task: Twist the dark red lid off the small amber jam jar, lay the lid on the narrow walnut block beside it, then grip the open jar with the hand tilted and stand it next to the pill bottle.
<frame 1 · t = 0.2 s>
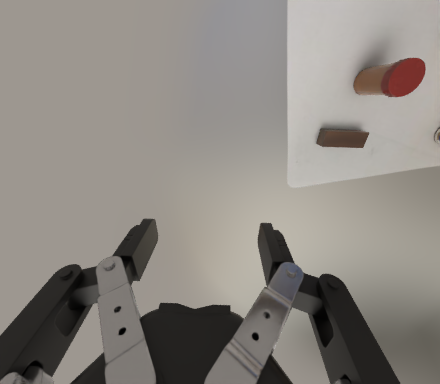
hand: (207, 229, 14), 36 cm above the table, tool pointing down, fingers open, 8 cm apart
lid rest: (338, 137, 45), on the table
jar: (366, 81, 40), on the table
jar lid: (404, 78, 31), point 10 cm above the table, screwed on, not yet turned
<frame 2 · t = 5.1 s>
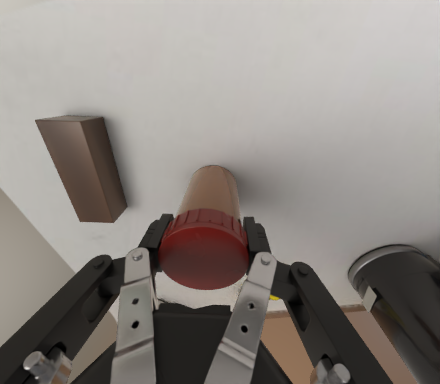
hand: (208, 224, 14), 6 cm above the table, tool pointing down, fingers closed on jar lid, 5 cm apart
lid rest: (99, 167, 19), on the table
jar: (213, 187, 20), on the table
jar lid: (204, 257, 11), point 10 cm above the table, screwed on, not yet turned, touching gripper
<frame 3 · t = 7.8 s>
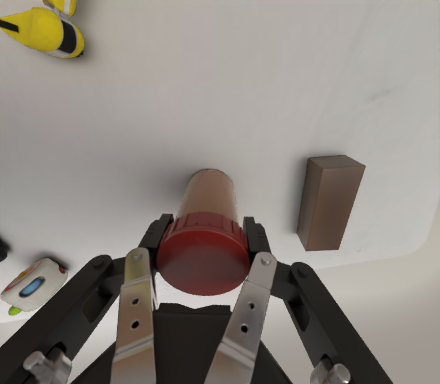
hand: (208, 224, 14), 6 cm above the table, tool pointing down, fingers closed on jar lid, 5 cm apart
roller toy: (20, 293, 25), point 3 cm above the table
lid rest: (317, 198, 20), on the table
jar: (210, 190, 20), on the table
jar lid: (203, 261, 11), point 10 cm above the table, off its thread, touching gripper
when the fingers open (4 cm above the table, at t = 32.0 s): jar lid stays where it is, resting on lid rest.
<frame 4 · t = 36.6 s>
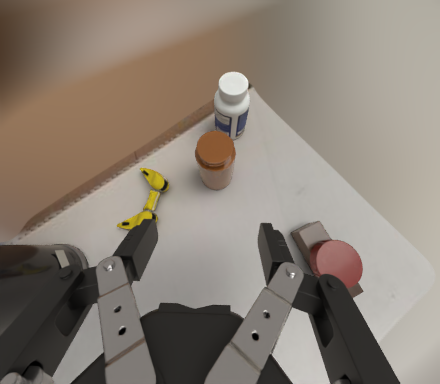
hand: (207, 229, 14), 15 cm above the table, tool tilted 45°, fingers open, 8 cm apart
yellow curved piece: (150, 202, 30), on the table
lid rest: (317, 258, 27), on the table
pill bottle: (229, 128, 33), on the table
jar: (216, 175, 31), on the table
jar lid: (337, 263, 23), point 4 cm above the table, off its thread, touching lid rest
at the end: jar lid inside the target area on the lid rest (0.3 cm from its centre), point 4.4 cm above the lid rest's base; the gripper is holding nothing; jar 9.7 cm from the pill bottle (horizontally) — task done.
